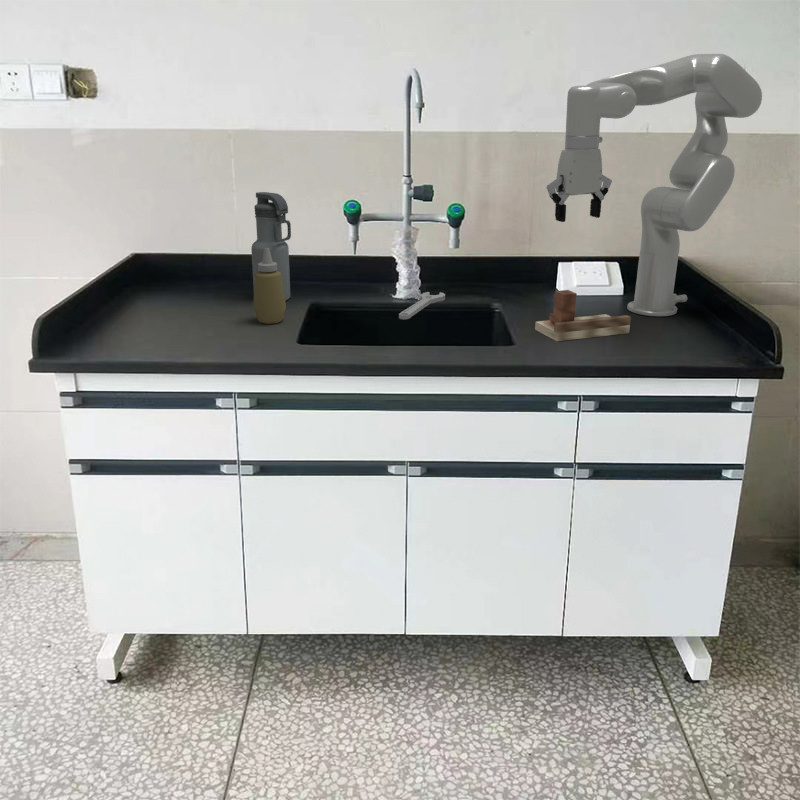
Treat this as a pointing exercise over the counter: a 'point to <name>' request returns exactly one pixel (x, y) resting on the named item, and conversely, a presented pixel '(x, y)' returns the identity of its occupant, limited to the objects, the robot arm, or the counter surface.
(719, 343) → the counter surface
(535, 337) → the counter surface
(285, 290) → the water bottle
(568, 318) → the brown wooden block
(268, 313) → the squeeze bottle
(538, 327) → the board
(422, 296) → the adjustable wrench
